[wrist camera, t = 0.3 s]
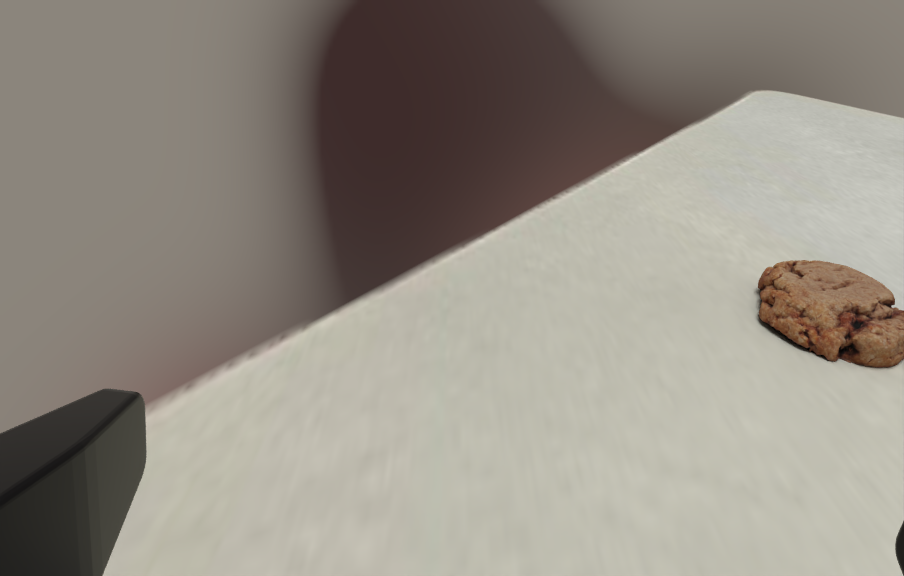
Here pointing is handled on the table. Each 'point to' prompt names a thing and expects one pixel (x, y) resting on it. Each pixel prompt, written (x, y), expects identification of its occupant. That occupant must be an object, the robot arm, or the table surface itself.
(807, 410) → the table surface
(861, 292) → the cookie
